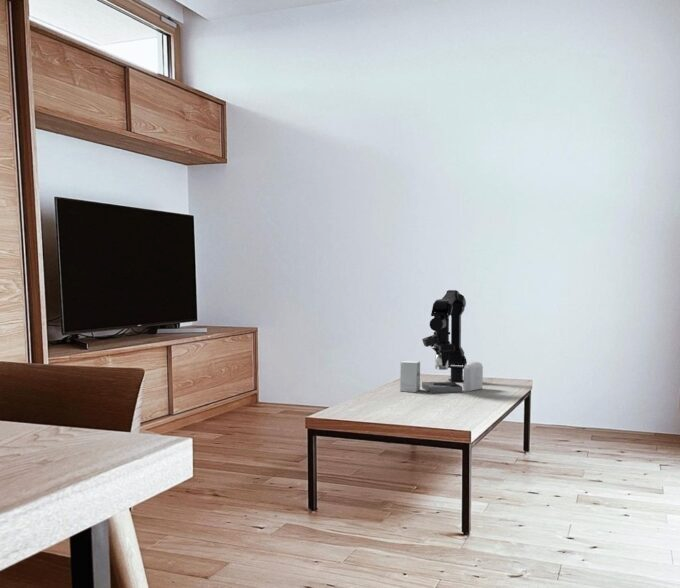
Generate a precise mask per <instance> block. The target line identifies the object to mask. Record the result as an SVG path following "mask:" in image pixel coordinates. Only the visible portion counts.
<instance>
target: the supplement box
mask: <svg viewBox="0 0 680 588" xmlns="http://www.w3.org/2000/svg"><path fill="white" fill-rule="evenodd" d="M399 373H400V379H399V381H400V384H399V391H400V392H405V393H406V392H407V393H417V392H418V391H420V390H421V389H420V388H421V361H420V360H402V361H401V362H400V372H399Z"/></svg>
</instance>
